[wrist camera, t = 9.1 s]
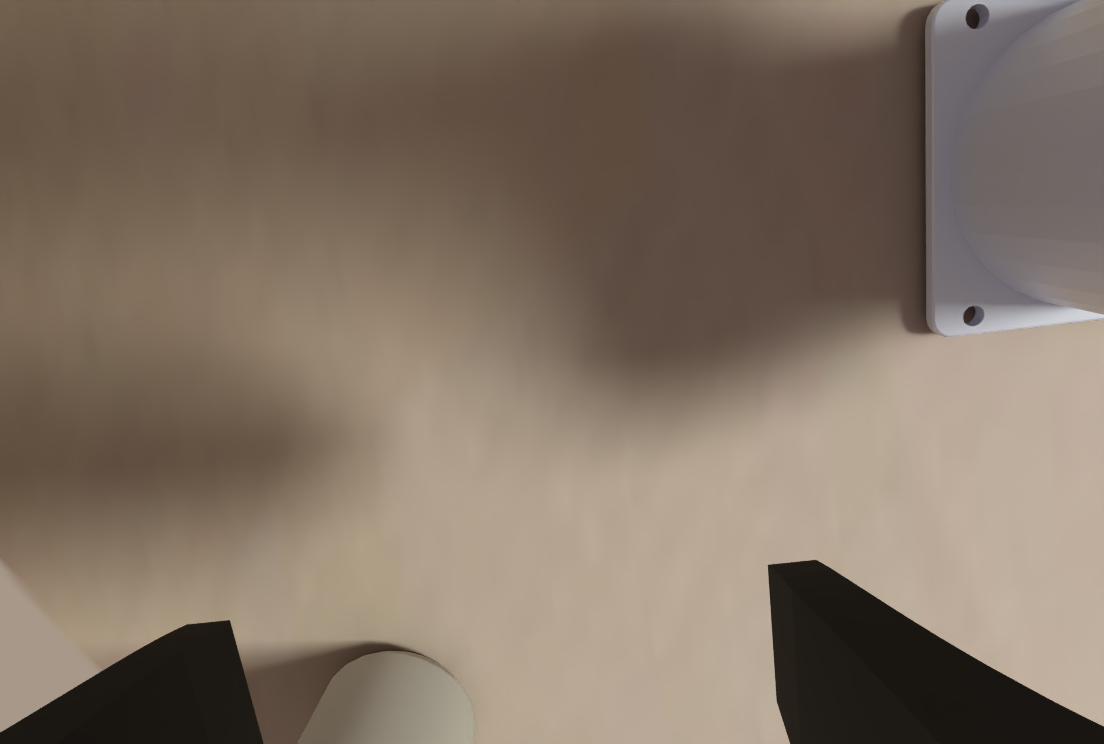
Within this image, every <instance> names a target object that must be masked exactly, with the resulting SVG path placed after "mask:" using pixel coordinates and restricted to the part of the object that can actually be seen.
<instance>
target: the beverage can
mask: <svg viewBox="0 0 1104 744" xmlns="http://www.w3.org/2000/svg"><path fill="white" fill-rule="evenodd" d="M474 732H475V726H474V711H473V708H472V706H471V703H470V700H469V697H468V695H467V693H466V692H465V691H464V689H463V688H462V686H461V685H460V684H459V682H458V681H457V679H456V678H455V677H454V676H453V675H451V674H450V673H449V672H448V671H447V670H446V669H444V668H443V667H442V666H441V665H440V664H438V663H436V662H435V661H433V660H431V659H429V658H427V657H425V656H422V655H418V654H415V653H411V652H407V651H383V652H378V653H373V654H368V655H364V656H362V657H360V658H358V659H356V660H354V661H352V662H350V663H348V664H346V665H345V666H344V667H343V668H342V669H341V670H340V671H339V672H338V673H336V674H335V675H334V676H333V677H332V679H331V681H330V683H329V685H328V686H327V688H326V690H325V692H324V694H323V696H322V697H321V699H320V701H319V703H318V705H317V707H316V709H315V711H314V712H313V714H312V716H311V718H310V720H309V722H308V724H307V726H306V727H305V729H304V731H303V733H302V735H301V737H300V739H299V741H298V742H297V744H472V742H473V737H474Z"/></svg>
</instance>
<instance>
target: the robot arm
mask: <svg viewBox="0 0 1104 744" xmlns="http://www.w3.org/2000/svg"><path fill="white" fill-rule="evenodd" d="M969 9H974V10H975V11H976V12H977V13H978V14H979V18H980V20H979V24H978V26H977V28H976V29H971V28H970V27H969V26H968V25H967V23H966V19H965V18H966V14H967V11H968V10H969ZM925 92H926V319H927V324H928V326H929V328H930V329H931V330H932V331H933V332H935V333H937V334H939V335H941V336H944V337H958V336H967V335H975V334H984V333H992V332H1000V331H1009V330H1017V329H1026V328H1034V327H1043V326H1051V325H1060V324H1068V323H1077V322H1085V321H1094V320H1102V319H1104V0H944V1H943V2H941V3H939V4H938V5H937V6H935V7H934V8H933V9H932V10H931V12H930V13H929V15H928V17H927V20H926V26H925ZM971 306H974V307H975V311H976V313H975V317H974V318H973V319H972V320H971V322H968V323H964V320H963V314H964V312H965V310H966V309H967V308H968V307H971ZM768 574H769V589H770V604H771V620H772V635H773V650H774V665H775V681H776V696H777V703H778V706H779V710H780V713H781V716H782V719H783V722H784V725H785V729H786V732H787V735H788V738H789V741H790V744H1104V726H1101V725H1099V724H1097V723H1095V722H1093V721H1091V720H1089V719H1087V718H1085V717H1083V716H1081V715H1079V714H1077V713H1075V712H1073V711H1071V710H1069V709H1067V708H1065V707H1063V706H1061V705H1059V704H1057V703H1055V702H1053V701H1052V700H1050V699H1048V698H1046V697H1044V696H1042V695H1040V694H1039V693H1037V692H1035V691H1033V690H1031V689H1029V688H1028V687H1026V686H1024V685H1022V684H1020V683H1018V682H1017V681H1015V680H1013V679H1011V678H1009V677H1007V676H1006V675H1004V674H1002V673H1000V672H998V671H997V670H995V669H993V668H991V667H989V666H987V665H986V664H984V663H982V662H981V661H979V660H977V659H975V658H974V657H972V656H970V655H968V654H967V653H965V652H963V651H962V650H960V649H958V648H956V647H955V646H953V645H951V644H950V643H948V642H946V641H945V640H943V639H941V638H940V637H938V636H936V635H935V634H933V633H932V632H930V631H928V630H927V629H925V628H923V627H922V626H920V625H919V624H917V623H915V622H914V621H912V620H911V619H909V618H907V617H906V616H904V615H903V614H901V613H899V612H898V611H896V610H895V609H893V608H892V607H890V606H888V605H887V604H885V603H884V602H882V601H881V600H879V599H878V598H876V597H874V596H873V595H871V594H870V593H868V592H867V591H865V590H864V589H862V588H861V587H859V586H857V585H856V584H854V583H853V582H851V581H850V580H848V579H847V578H845V577H843V576H842V575H840V574H839V573H837V572H836V571H834V570H832V569H831V568H829V567H827V566H826V565H824V564H822V563H821V562H819V561H817V560H811V561H801V562H791V563H782V564H772V565H768ZM0 744H263V740H262V737H261V733H260V729H259V726H258V722H257V718H256V715H255V711H254V707H253V704H252V700H251V696H250V693H249V689H248V685H247V682H246V678H245V674H244V671H243V667H242V663H241V660H240V656H239V652H238V649H237V645H236V641H235V638H234V634H233V630H232V627H231V623H230V620H227V621H218V622H208V623H198V624H188V625H185V626H183V627H181V628H179V629H177V630H174V631H172V632H170V633H168V634H166V635H164V636H162V637H160V638H159V639H157V640H155V641H153V642H151V643H149V644H148V645H146V646H144V647H142V648H140V649H139V650H137V651H135V652H134V653H132V654H130V655H128V656H127V657H125V658H123V659H122V660H120V661H118V662H116V663H115V664H113V665H111V666H110V667H108V668H106V669H105V670H103V671H101V672H100V673H98V674H96V675H95V676H93V677H92V678H90V679H89V680H87V681H85V682H83V683H82V684H80V685H78V686H77V687H75V688H73V689H72V690H70V691H68V692H67V693H65V694H63V695H62V696H61V697H58V698H57V699H55V700H54V701H52V702H50V703H49V704H47V705H45V706H44V707H42V708H40V709H39V710H37V711H36V712H34V713H32V714H30V715H29V716H27V717H26V718H24V719H22V720H21V721H19V722H17V723H16V724H14V725H12V726H11V727H9V728H7V729H6V730H4V731H2V732H0Z"/></svg>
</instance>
